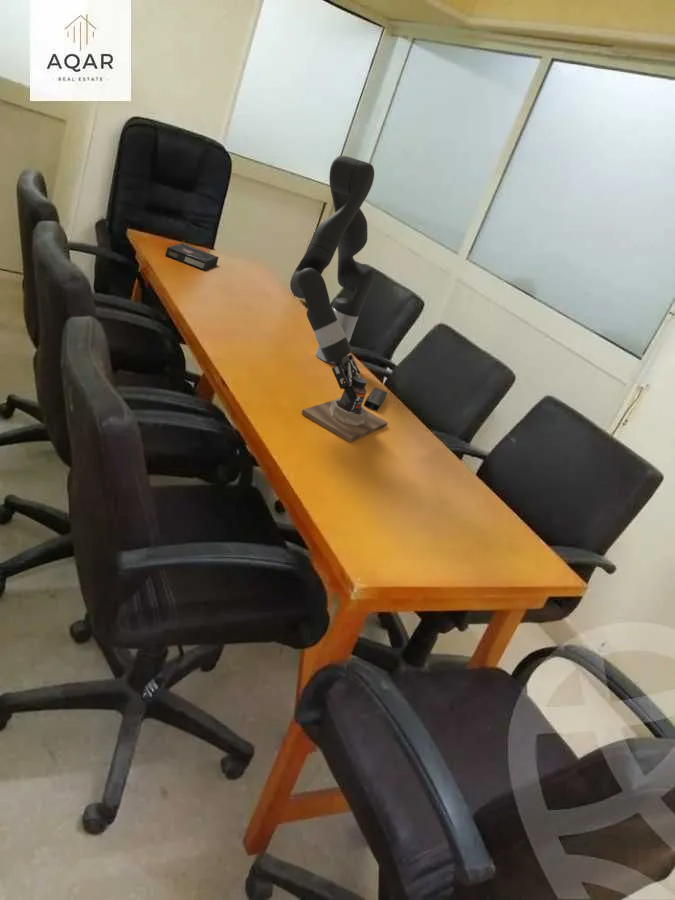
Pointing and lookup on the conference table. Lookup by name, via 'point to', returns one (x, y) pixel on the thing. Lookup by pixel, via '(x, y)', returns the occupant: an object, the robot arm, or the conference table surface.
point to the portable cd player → (192, 256)
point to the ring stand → (344, 420)
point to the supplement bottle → (360, 391)
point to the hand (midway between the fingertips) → (357, 395)
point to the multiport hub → (375, 399)
